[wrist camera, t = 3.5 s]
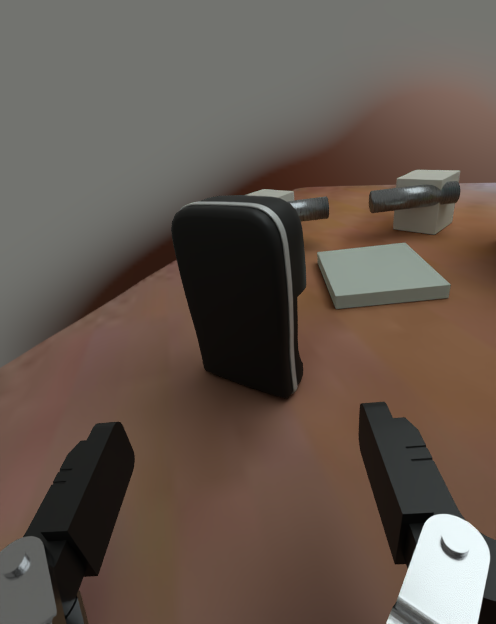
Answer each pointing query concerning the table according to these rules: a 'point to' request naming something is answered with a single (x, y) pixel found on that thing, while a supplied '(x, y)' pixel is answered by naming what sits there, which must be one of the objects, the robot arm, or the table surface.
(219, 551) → the table surface
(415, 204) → the shafts
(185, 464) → the table surface
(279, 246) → the battery charger
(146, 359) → the table surface
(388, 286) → the seat pad
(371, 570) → the table surface
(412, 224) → the shaft mounts
